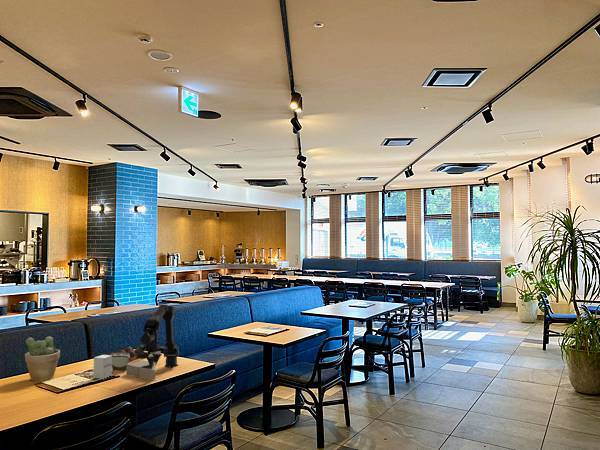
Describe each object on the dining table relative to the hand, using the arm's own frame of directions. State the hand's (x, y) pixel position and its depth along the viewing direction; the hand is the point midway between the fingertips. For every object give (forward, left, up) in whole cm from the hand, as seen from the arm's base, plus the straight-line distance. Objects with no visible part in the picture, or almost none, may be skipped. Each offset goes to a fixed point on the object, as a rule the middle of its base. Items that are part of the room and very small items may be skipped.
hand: (153, 367), depth 264 cm
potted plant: (+34, -58, -8) cm, 68 cm away
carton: (-5, -18, -8) cm, 20 cm away
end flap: (0, -5, -7) cm, 9 cm away
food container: (-4, -36, -8) cm, 37 cm away
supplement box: (+13, -30, -8) cm, 33 cm away
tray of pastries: (-17, -51, -8) cm, 55 cm away
